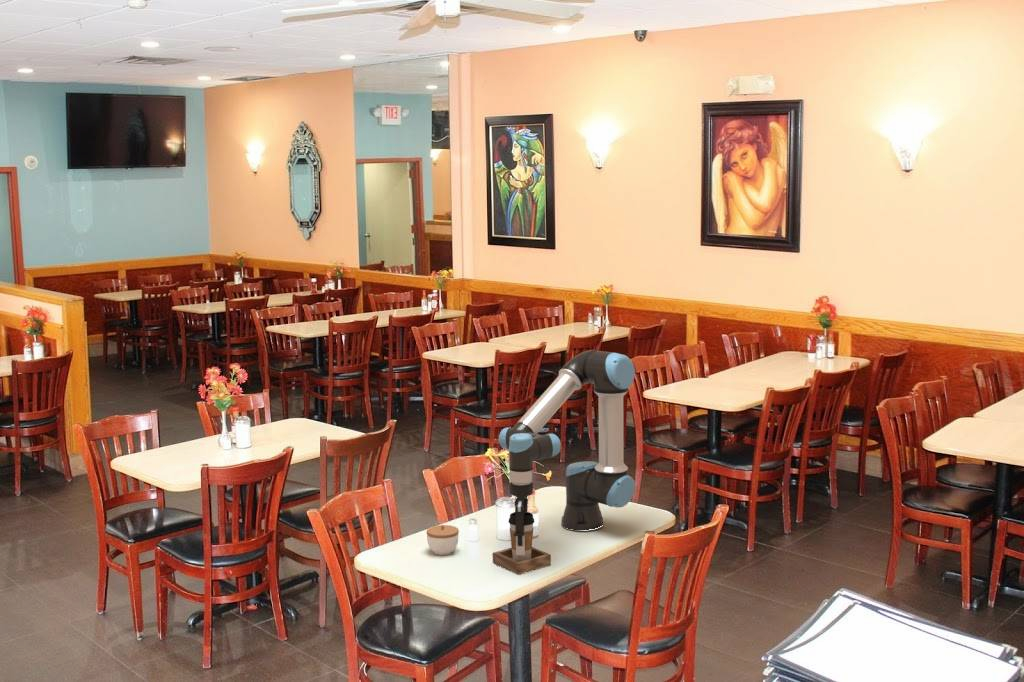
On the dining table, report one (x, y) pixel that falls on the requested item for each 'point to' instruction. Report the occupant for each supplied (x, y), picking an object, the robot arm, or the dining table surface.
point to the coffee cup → (527, 532)
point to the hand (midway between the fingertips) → (521, 550)
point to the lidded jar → (442, 539)
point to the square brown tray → (519, 567)
